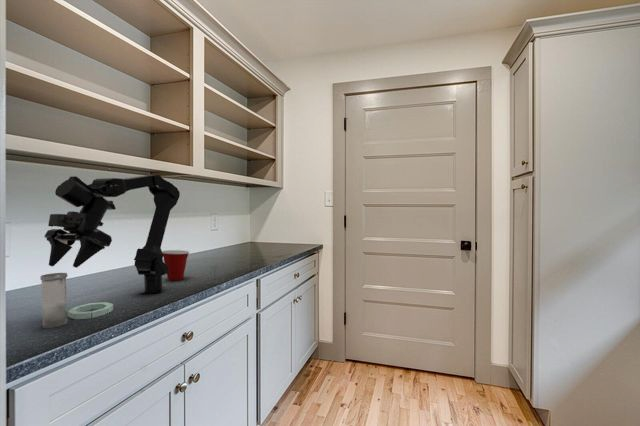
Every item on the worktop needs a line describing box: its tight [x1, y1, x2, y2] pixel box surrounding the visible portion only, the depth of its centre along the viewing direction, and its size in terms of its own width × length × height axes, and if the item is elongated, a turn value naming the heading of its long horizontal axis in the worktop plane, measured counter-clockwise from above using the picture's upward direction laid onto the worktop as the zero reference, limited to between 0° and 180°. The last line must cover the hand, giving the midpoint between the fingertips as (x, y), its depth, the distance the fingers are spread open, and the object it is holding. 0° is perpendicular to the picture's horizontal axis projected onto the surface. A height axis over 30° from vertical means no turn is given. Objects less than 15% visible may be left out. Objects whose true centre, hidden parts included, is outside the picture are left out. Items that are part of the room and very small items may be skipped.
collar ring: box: [67, 301, 114, 320], centre depth 94 cm, size 10×10×2 cm
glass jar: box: [39, 272, 68, 329], centre depth 85 cm, size 5×5×13 cm
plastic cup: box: [162, 249, 191, 282], centre depth 135 cm, size 11×11×12 cm
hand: (62, 266), depth 86 cm, fingers open, 9 cm apart
